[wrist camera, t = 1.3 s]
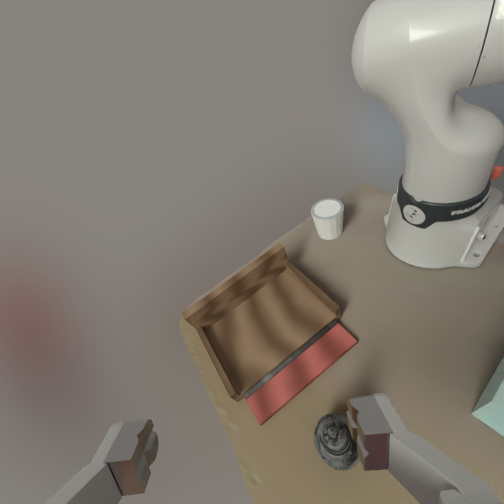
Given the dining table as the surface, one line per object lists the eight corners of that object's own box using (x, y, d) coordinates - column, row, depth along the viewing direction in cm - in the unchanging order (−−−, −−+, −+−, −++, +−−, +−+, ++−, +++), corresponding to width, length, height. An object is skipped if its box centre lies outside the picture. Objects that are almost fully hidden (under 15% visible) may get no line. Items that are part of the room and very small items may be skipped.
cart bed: (287, 266, 57) (279, 243, 51) (363, 337, 43) (364, 315, 37) (201, 331, 53) (182, 313, 48) (253, 432, 39) (234, 424, 33)
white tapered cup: (335, 216, 62) (332, 193, 58) (351, 232, 58) (350, 209, 53) (309, 228, 62) (305, 206, 58) (324, 246, 58) (320, 224, 53)
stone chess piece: (310, 426, 37) (294, 410, 29) (348, 411, 37) (343, 391, 29) (329, 478, 33) (317, 477, 25) (371, 461, 33) (374, 455, 24)
